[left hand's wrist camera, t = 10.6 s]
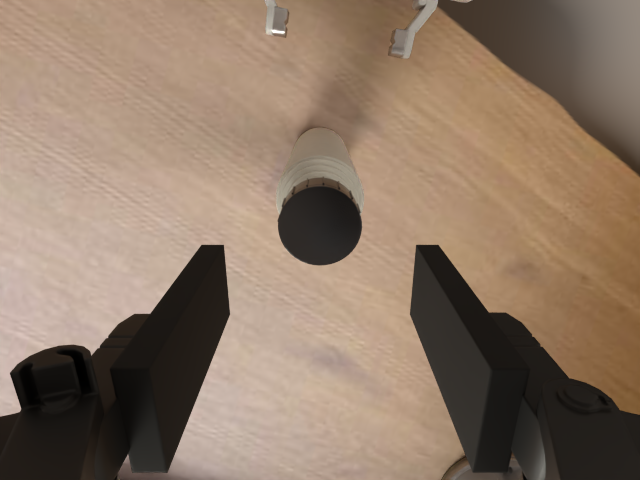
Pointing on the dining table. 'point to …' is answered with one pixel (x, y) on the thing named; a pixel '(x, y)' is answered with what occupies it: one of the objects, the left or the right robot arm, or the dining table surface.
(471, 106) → the dining table surface
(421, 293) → the left robot arm
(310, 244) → the cap
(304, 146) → the bottle
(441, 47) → the dining table surface
